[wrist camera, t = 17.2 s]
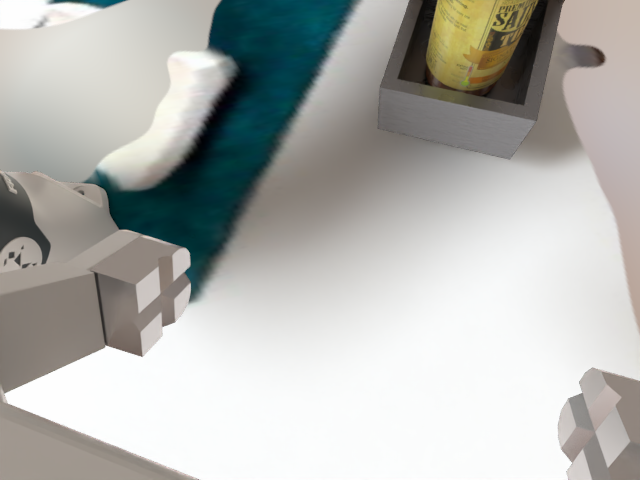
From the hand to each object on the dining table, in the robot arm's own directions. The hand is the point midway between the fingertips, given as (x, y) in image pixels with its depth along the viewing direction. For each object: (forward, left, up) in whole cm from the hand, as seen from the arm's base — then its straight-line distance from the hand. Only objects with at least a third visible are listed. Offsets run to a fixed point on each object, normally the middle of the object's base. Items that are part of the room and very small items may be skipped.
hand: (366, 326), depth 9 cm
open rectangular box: (+1, +25, -23) cm, 34 cm away
